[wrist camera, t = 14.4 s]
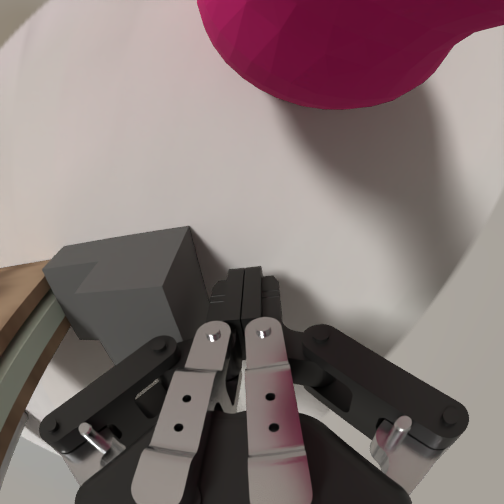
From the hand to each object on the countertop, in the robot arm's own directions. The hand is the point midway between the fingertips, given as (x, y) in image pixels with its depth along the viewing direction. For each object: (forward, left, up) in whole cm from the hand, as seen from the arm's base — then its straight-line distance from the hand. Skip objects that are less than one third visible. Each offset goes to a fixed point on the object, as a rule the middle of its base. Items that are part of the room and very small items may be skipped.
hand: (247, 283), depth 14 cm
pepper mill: (+4, +11, -2) cm, 12 cm away
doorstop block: (-7, 0, -2) cm, 7 cm away
